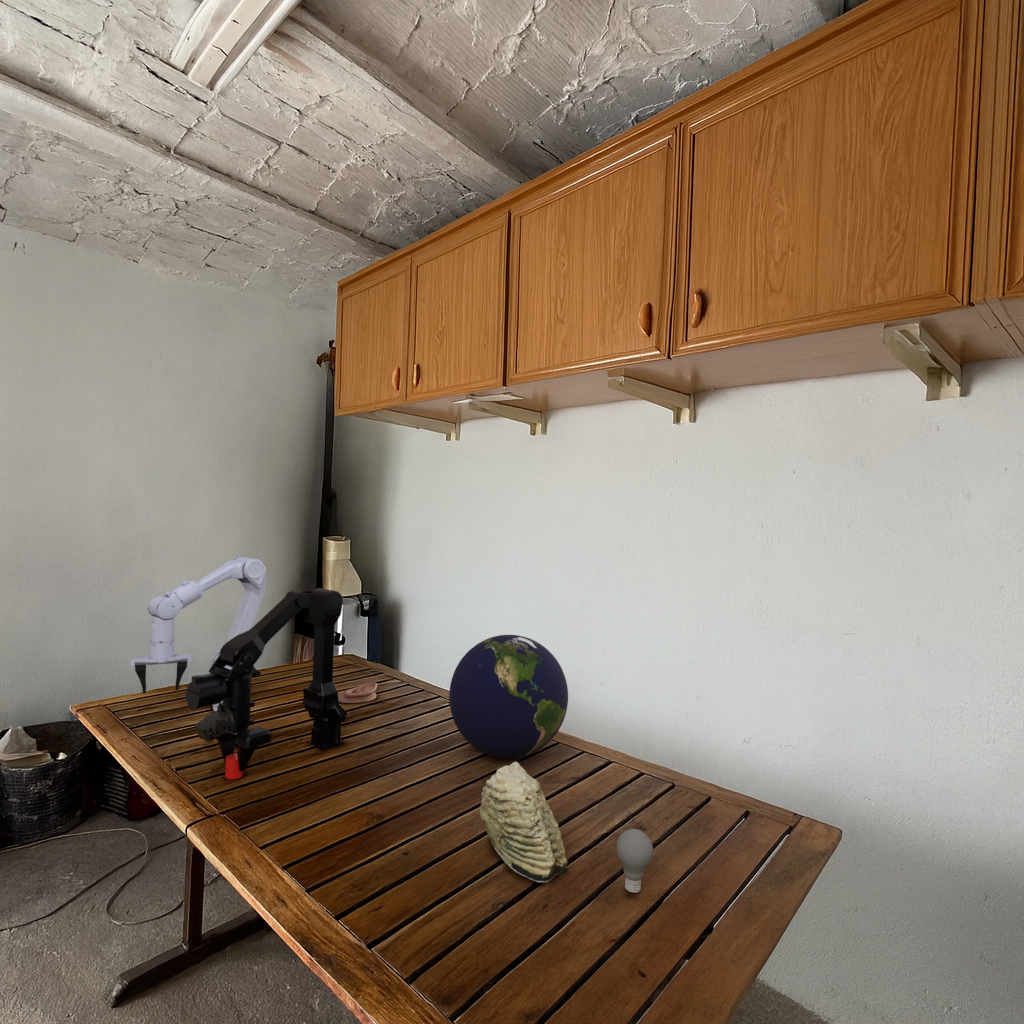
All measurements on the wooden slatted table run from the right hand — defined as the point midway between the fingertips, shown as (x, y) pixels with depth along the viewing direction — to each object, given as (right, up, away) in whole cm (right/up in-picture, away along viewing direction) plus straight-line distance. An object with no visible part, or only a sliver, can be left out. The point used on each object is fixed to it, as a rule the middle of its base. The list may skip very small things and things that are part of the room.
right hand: (234, 767), depth 142 cm
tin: (0, -2, 0) cm, 2 cm away
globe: (+61, -4, +18) cm, 64 cm away
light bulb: (+82, -6, -36) cm, 90 cm away
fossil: (+63, -5, -27) cm, 69 cm away
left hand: (-33, +9, +30) cm, 45 cm away
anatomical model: (+12, -1, +57) cm, 59 cm away
